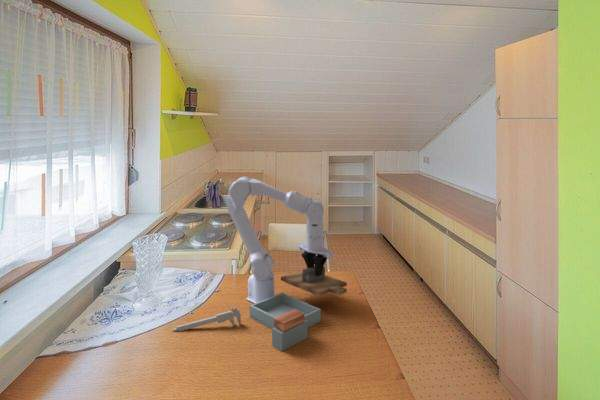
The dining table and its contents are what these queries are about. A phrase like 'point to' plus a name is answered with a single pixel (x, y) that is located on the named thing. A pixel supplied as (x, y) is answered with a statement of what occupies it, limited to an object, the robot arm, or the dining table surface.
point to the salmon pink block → (289, 320)
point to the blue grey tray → (279, 306)
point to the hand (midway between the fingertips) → (314, 273)
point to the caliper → (212, 320)
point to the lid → (315, 282)
